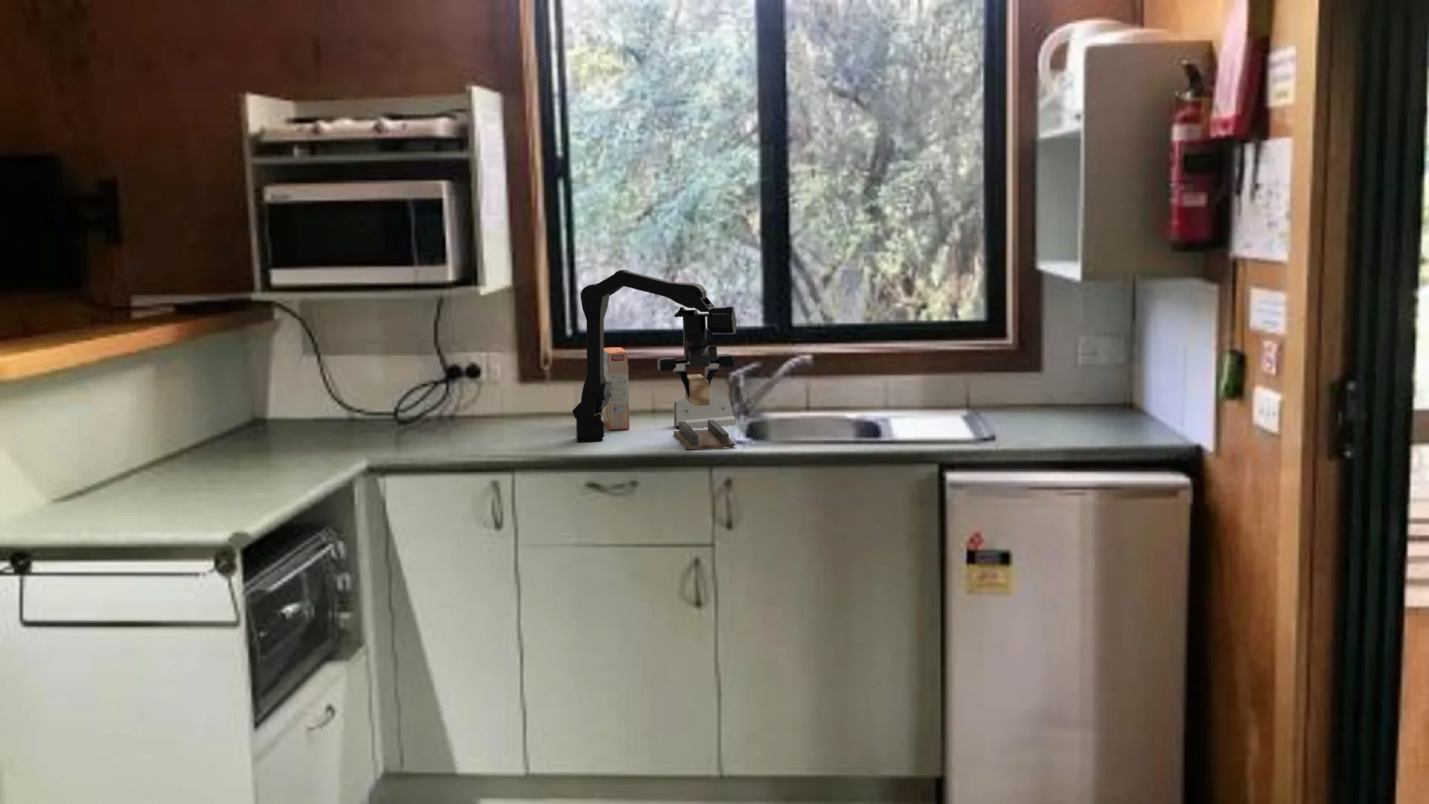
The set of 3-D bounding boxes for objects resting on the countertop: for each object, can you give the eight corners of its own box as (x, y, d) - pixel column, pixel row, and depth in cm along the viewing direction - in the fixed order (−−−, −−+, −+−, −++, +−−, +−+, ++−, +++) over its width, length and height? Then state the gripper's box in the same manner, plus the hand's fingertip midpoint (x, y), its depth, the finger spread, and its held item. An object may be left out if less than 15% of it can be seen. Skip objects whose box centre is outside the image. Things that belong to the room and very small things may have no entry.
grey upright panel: (679, 430, 353) (674, 393, 355) (673, 433, 357) (668, 396, 359) (737, 425, 359) (732, 388, 360) (731, 428, 363) (726, 392, 365)
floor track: (686, 450, 324) (686, 436, 323) (673, 434, 345) (673, 421, 345) (735, 447, 326) (734, 433, 325) (719, 432, 347) (719, 419, 347)
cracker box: (631, 429, 355) (628, 351, 351) (608, 431, 353) (605, 352, 350) (624, 421, 368) (622, 346, 365) (603, 422, 367) (600, 347, 364)
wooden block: (693, 406, 327) (692, 381, 326) (685, 398, 340) (684, 374, 339) (709, 405, 327) (708, 380, 326) (700, 397, 341) (699, 374, 340)
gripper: (661, 339, 322) (664, 403, 324) (737, 335, 325) (739, 398, 327) (656, 335, 333) (658, 397, 335) (729, 331, 336) (731, 392, 338)
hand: (697, 396), depth 334 cm, fingers closed on wooden block, 4 cm apart
